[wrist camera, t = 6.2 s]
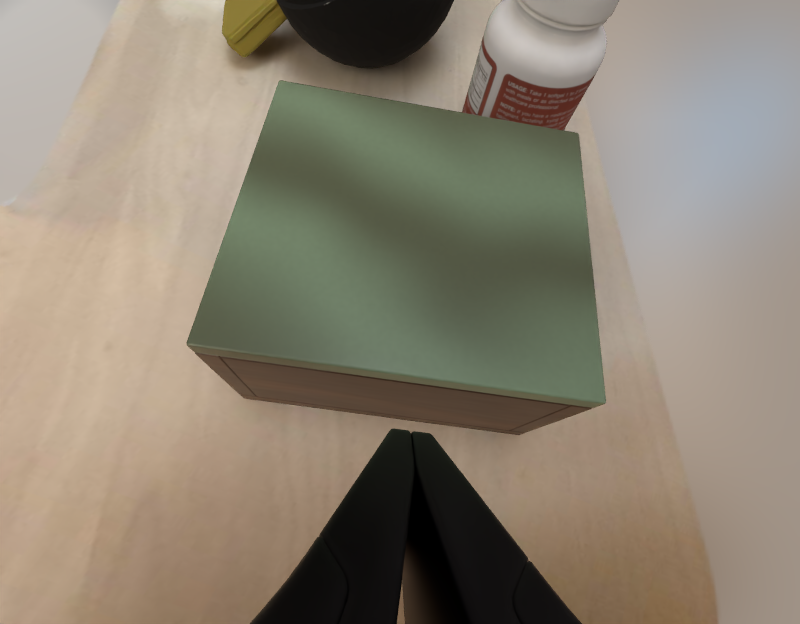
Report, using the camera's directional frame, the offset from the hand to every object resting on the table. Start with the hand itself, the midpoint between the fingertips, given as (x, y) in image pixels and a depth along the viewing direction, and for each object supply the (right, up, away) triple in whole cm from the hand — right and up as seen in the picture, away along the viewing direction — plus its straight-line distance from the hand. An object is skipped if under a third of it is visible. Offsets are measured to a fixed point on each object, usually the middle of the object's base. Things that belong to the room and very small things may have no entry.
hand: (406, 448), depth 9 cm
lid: (+1, +6, +8) cm, 10 cm away
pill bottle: (+6, +13, +20) cm, 25 cm away
